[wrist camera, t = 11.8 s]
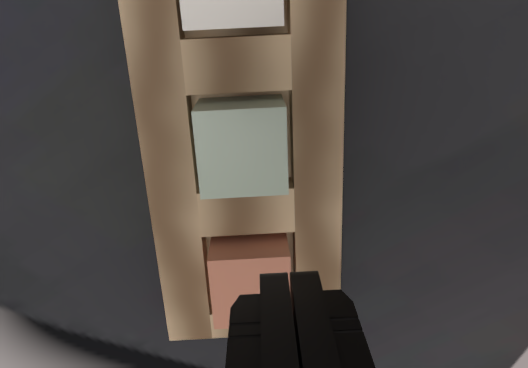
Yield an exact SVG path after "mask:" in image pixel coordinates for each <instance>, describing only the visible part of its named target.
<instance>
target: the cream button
mask: <svg viewBox="0 0 528 368" xmlns="http://www.w3.org/2000/svg"><path fill="white" fill-rule="evenodd" d="M179 1H180V11H181V20H182V30H183V31H190V30H211V29H231V28H252V27H272V26H284V0H179Z"/></svg>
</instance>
